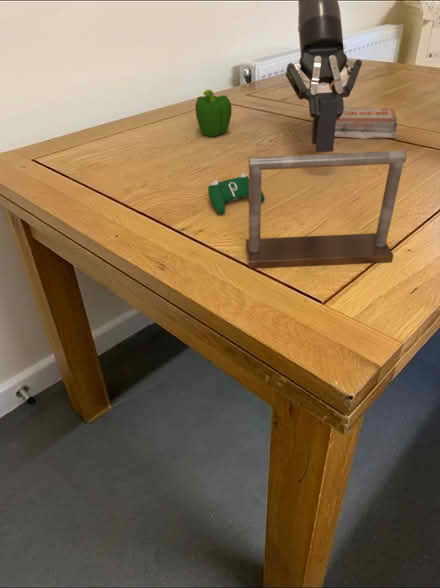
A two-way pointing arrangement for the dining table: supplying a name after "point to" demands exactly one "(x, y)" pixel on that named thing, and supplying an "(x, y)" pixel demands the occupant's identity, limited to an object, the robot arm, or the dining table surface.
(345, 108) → the packaged product
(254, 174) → the rail stand
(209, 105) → the bell pepper
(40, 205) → the dining table surface
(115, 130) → the dining table surface
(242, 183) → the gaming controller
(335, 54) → the robot arm
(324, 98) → the clip
